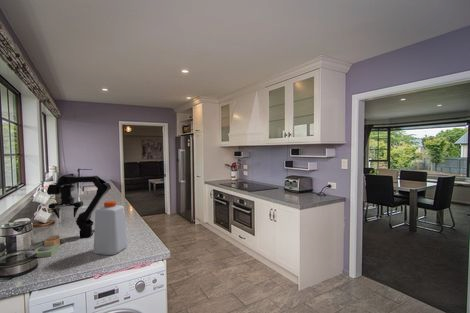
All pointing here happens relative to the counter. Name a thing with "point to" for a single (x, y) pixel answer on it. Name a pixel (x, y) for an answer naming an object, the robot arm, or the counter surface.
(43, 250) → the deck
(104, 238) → the plastic bottle
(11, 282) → the counter surface
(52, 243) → the brown cardboard carton
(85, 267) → the counter surface
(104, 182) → the robot arm
